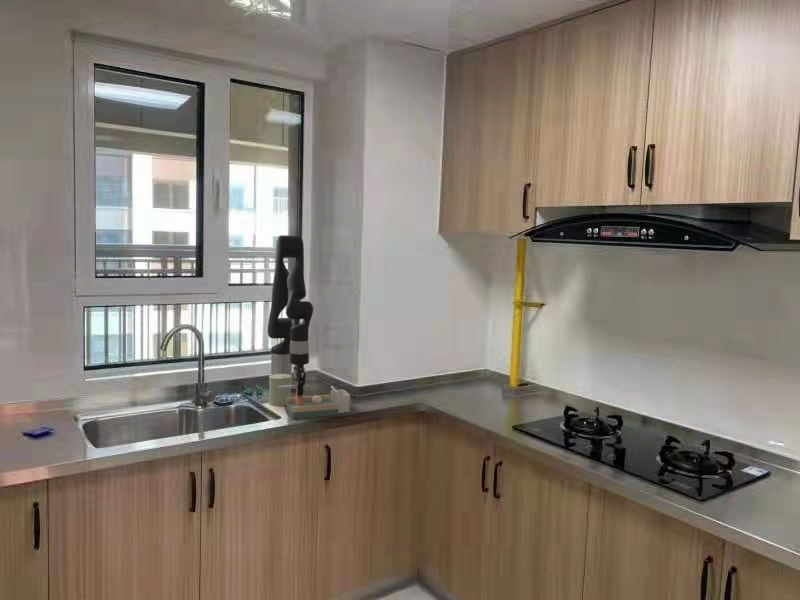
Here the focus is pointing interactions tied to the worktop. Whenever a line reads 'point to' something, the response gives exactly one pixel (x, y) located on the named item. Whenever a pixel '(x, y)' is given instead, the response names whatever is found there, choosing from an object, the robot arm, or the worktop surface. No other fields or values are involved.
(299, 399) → the kicker
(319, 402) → the ball
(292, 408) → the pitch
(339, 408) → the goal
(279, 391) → the can
